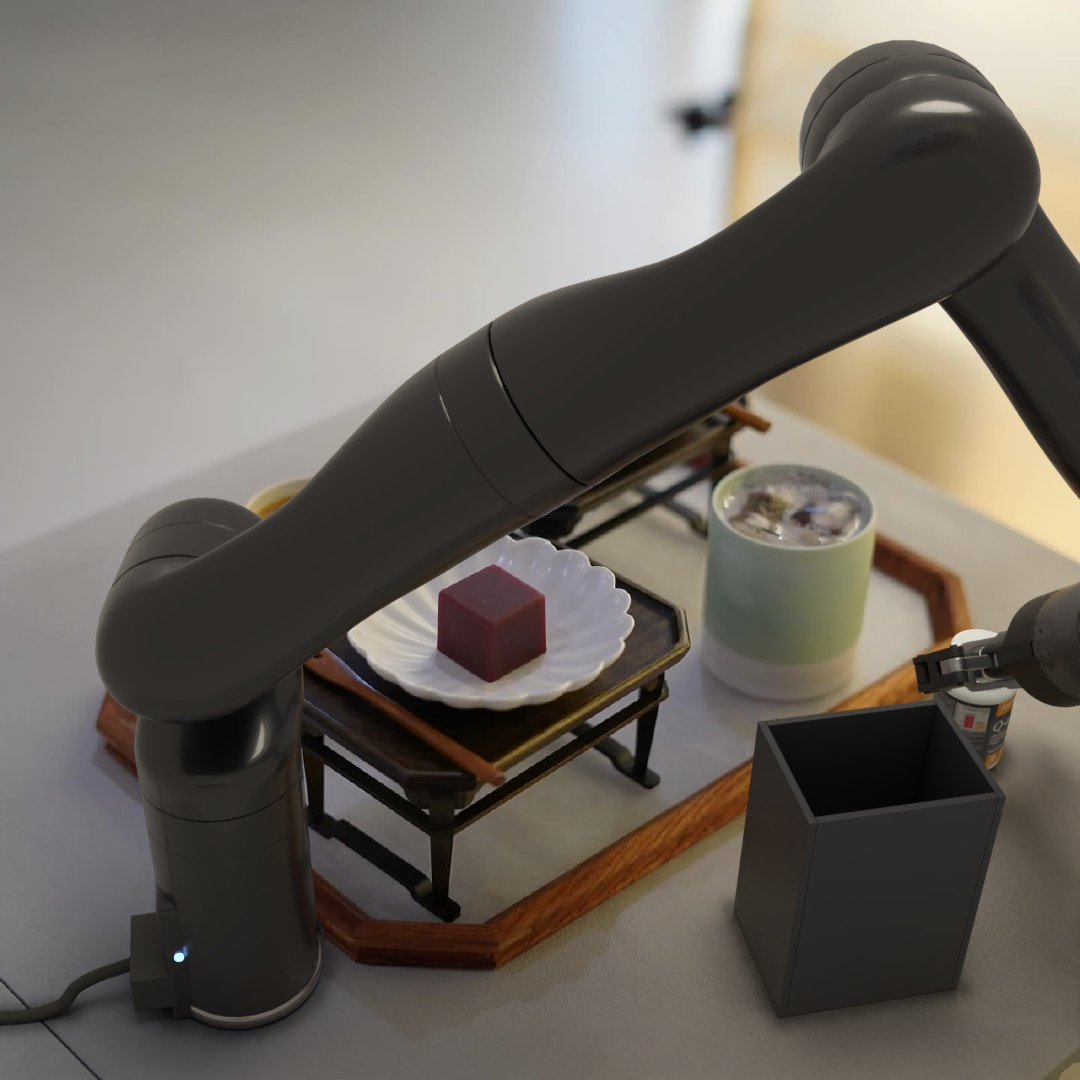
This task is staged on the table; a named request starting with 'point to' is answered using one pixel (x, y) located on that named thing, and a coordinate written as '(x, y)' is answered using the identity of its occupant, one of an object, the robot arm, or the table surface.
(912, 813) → the waste bin
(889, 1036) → the table surface
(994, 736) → the pill bottle
